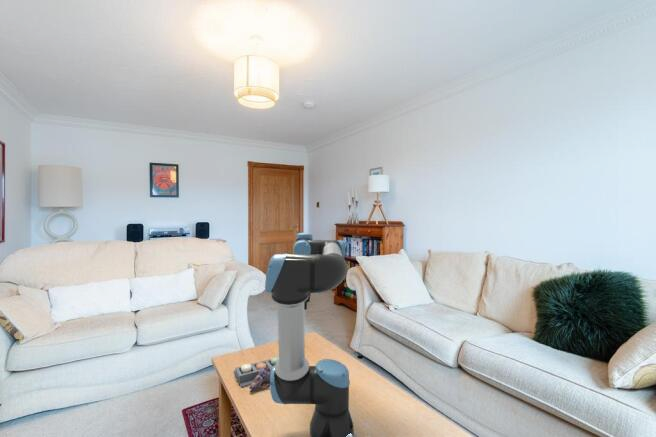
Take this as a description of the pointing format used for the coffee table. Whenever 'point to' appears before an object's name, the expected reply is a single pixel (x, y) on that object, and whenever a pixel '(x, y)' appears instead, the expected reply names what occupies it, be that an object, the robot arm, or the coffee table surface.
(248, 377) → the button panel
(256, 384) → the purple lumpy piece
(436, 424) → the coffee table surface
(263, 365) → the button terracotta
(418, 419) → the coffee table surface
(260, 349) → the coffee table surface
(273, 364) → the button sage
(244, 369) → the button cream
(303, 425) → the coffee table surface
